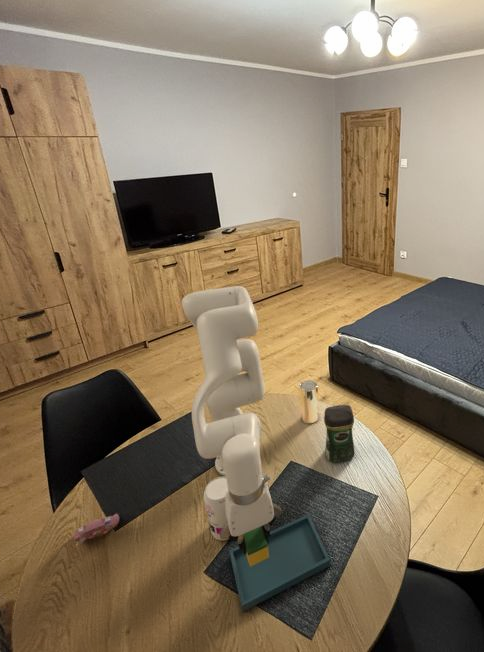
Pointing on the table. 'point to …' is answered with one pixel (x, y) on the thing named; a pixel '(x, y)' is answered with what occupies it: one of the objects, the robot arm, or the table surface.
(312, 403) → the silver metal cylinder
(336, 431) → the coffee jar
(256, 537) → the sponge
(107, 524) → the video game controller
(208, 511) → the supplement can
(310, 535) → the tray
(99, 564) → the table surface
